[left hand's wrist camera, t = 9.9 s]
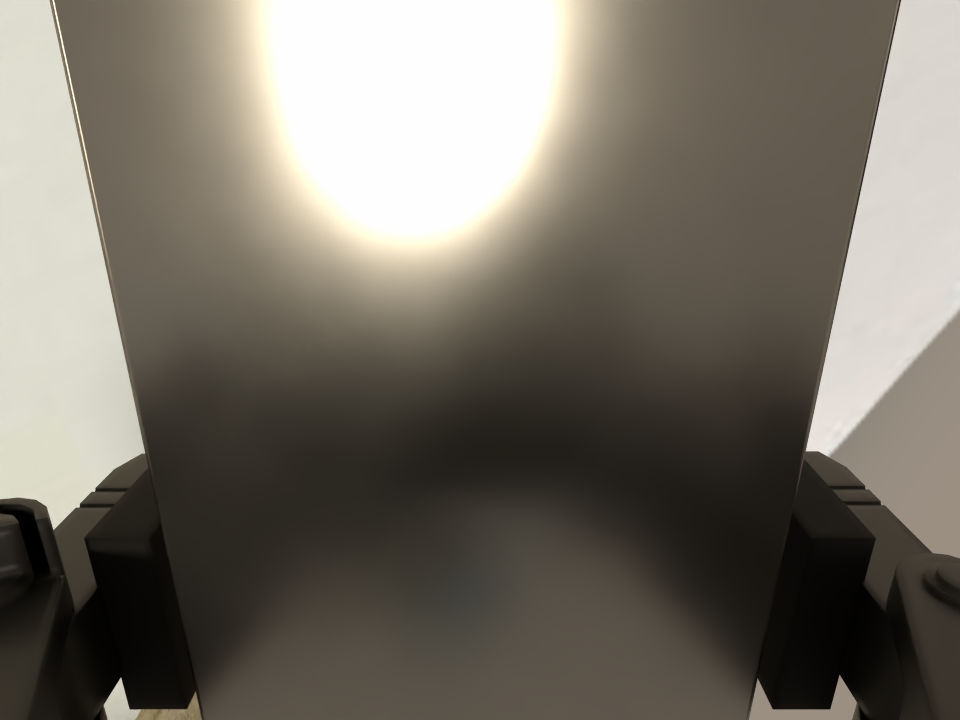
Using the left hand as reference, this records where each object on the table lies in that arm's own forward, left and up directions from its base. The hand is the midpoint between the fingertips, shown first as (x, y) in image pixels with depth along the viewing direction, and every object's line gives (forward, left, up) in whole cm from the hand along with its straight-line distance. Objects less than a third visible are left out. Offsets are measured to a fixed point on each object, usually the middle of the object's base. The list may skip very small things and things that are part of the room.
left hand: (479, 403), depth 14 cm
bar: (+7, +4, -1) cm, 8 cm away
